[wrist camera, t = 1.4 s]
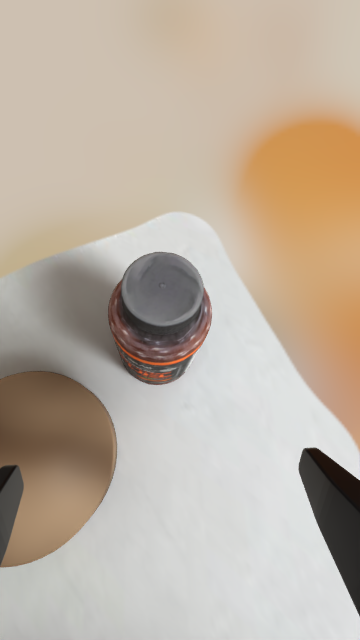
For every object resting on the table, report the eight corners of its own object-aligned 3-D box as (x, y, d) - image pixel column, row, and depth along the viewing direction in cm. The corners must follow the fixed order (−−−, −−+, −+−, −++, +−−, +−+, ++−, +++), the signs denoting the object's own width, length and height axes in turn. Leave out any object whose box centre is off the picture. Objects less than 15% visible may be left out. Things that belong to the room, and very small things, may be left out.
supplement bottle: (112, 378, 23) (78, 329, 13) (131, 310, 25) (116, 222, 15) (186, 394, 23) (213, 358, 13) (199, 325, 25) (231, 247, 15)
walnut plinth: (95, 562, 19) (87, 580, 16) (-78, 537, 18) (-111, 552, 16) (131, 390, 23) (128, 384, 21) (-10, 367, 23) (-29, 359, 20)
